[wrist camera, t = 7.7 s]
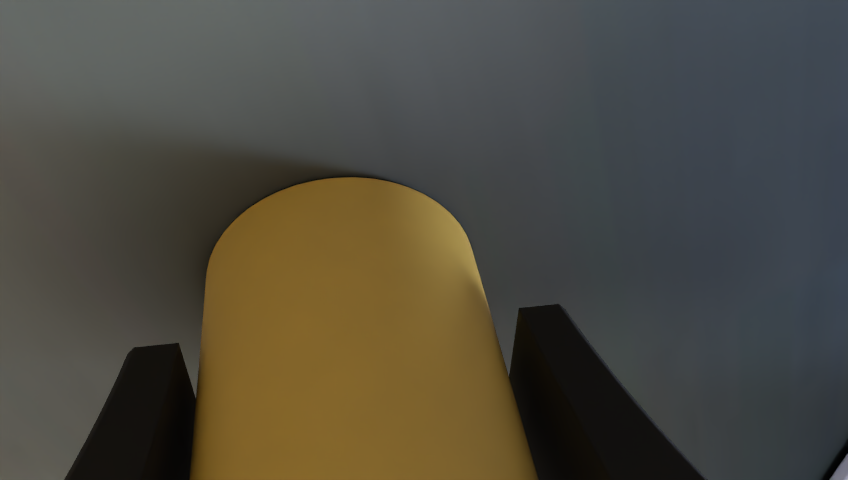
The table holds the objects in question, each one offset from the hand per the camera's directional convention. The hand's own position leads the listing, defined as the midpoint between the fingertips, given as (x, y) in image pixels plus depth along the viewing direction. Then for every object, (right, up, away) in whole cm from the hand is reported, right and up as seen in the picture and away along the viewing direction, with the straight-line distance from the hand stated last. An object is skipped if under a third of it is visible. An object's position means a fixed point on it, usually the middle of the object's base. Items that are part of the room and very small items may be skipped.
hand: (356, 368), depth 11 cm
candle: (0, +1, +1) cm, 2 cm away
